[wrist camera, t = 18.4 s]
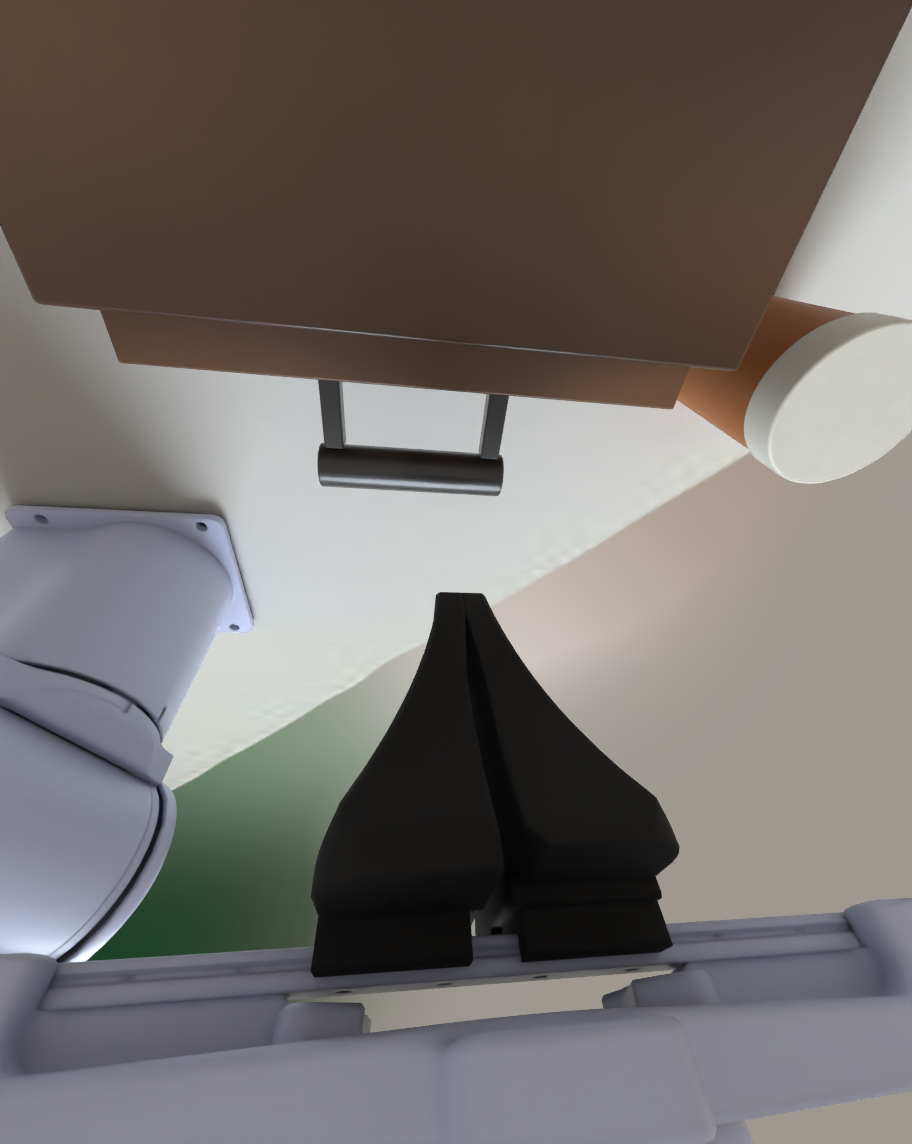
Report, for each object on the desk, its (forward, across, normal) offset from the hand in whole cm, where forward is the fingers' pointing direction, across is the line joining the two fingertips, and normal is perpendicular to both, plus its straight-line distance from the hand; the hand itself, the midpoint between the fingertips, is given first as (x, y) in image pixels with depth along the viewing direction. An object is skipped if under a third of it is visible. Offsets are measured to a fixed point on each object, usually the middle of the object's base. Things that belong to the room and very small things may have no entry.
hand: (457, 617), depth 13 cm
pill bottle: (+10, -10, -6) cm, 16 cm away
